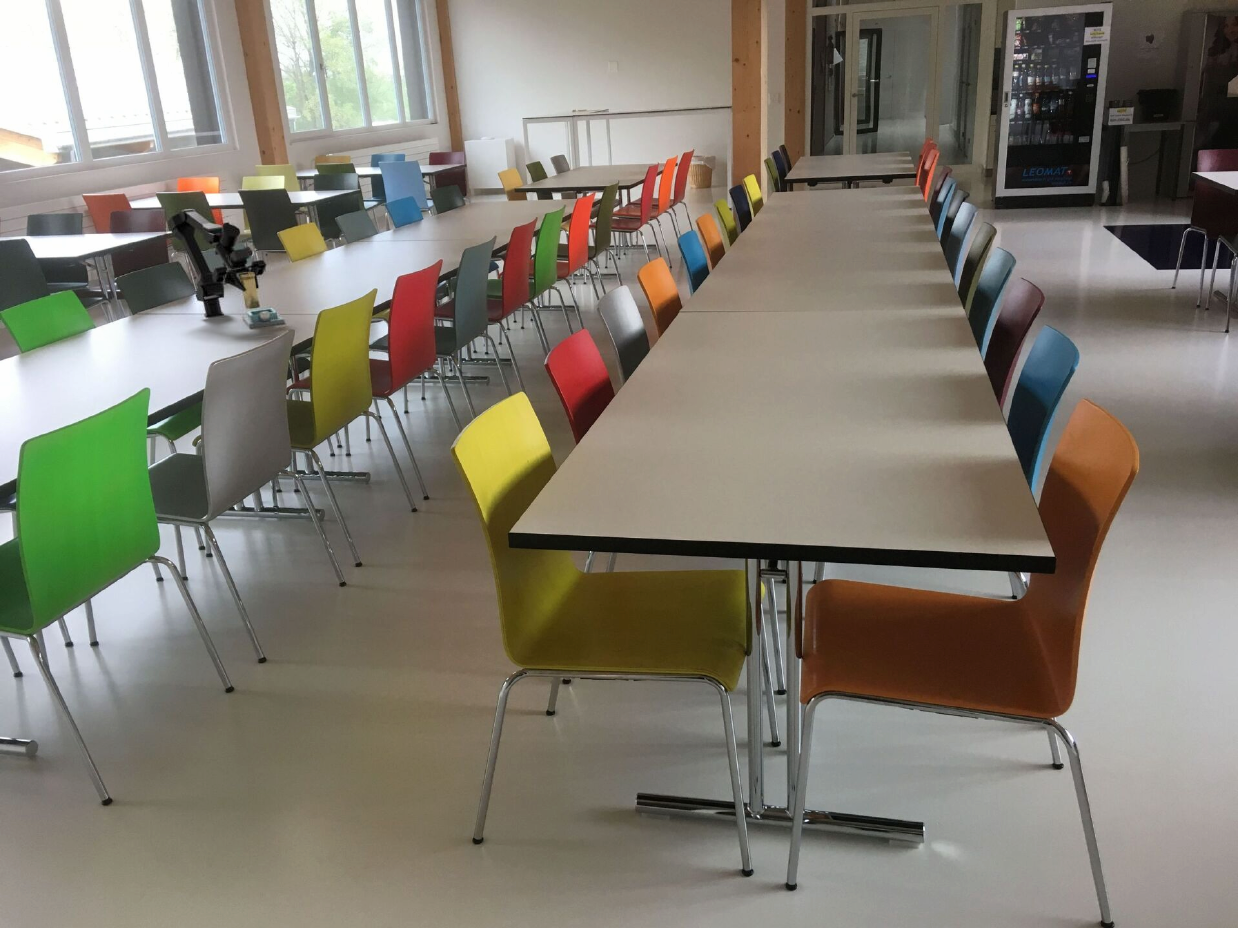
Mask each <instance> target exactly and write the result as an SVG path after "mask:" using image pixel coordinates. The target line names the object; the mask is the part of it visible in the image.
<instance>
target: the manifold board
mask: <svg viewBox="0 0 1238 928" xmlns="http://www.w3.org/2000/svg"><path fill="white" fill-rule="evenodd" d="M241 317H242V320H243V322H244V323H245V325H247V327H248V328H249V329H256V328H264V327H270V326H275V325H282V324H285V321H286V320H285V319H284V317H282V316H281V314H279V313H278V311H277V310H275V309H274V308H272V307H269V308H265V309H263V308H262V309H257V310H256V309H255V310H251V311H246V314H245V315H241Z"/></svg>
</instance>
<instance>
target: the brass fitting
mask: <svg viewBox="0 0 1238 928" xmlns="http://www.w3.org/2000/svg"><path fill="white" fill-rule="evenodd" d="M237 276H238V279H239V280H240V281H241V283H242V284H243V286H244V288H245V291H242V296H243V300H244V304H245V305H244V306H245V309H247V310H251V309H258V308H260V307H261V305H260V300H259V299H260V298H259V294H258V289H257V288H256V283H255V278H254V276H255V273H254V272H248V273H241V274H237Z"/></svg>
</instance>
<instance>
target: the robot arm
mask: <svg viewBox="0 0 1238 928" xmlns="http://www.w3.org/2000/svg"><path fill="white" fill-rule="evenodd" d="M167 226H168V228H169V230H170V231H171V233H172V235H173V236H174V237H175V238H176V239H178V240H179V241H181V242H182V245H183V247H184V250H185V252H186V254H187V256H188V258H189V260H190V262H191V264H192V267H193V268H194V271H195V273H196V274H197V275H196V276H197V282H196V286H197V289H196V292H195V299H196V300H197V301H198V302H202V303H203V308H204V312H205V313H203V315H204V317H205V318H212V317H214V318H215V317H220V316H224V315H225V313H224V312H223V311H222V306H221V304H220V303H221V302H220V299H222V298H225V286H224V284H223V282H224V283H225V284H228V285H230V286H233V287H235V288H237V289H239V290H240V291H242V292H243V291H245V288H244V286H243V284H242V283H241V281H240V278H239V276H238V274H241V273H248V272H254V273H255V276H254V278H255V283H256V288H257V290H258V289H259V287H260V286H259V283H258V281H259V280H258V276H262V275H263V274H264V272H265V269H266V267H267V263H266V261H265V260H264V259H257V260H253V261H251V264H250V265H247V264H248V259H249V258H251V257H252V256H253V254H254V252H253V250H252V249H251V247H250V246H245V247H244V248H241V249H240V248H239V249H236V248H235V247H236V246H237V244H238V241H239V238H240V235H241V229H240V228H239V227H237V226H236V225H234V224H230V222H229V221H228V222H223V223H222V225H221V224H217V223H212V222H210V221H209V220H207V219H206V218H205V217H203V216H202V215H201V214H200V213H198V212H197V210H196V209H194V208H188V209H182V210H181V211H180V212H179V213H177V214H175V215H173V216H170V217H169V220H168V221H167ZM196 230H197V231H198V232H200V233H201V234H202V238H203V240H204V241H205V242H206V243H207V244H208V245H215V251H214V254H215V255H216V256H218V255H219V257H220V258H221V260H222V262H223V263H222V265H223V266H222V265H221V266H218V267H215V268H214V270H213V271H211V269H210V267H209V264H208V262H207V260H206V258H205V256H204V254H203V252H202V249H201V247H200V246H199V244H198V241H197V239H196V238H195V234H196V233H195V232H196Z"/></svg>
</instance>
